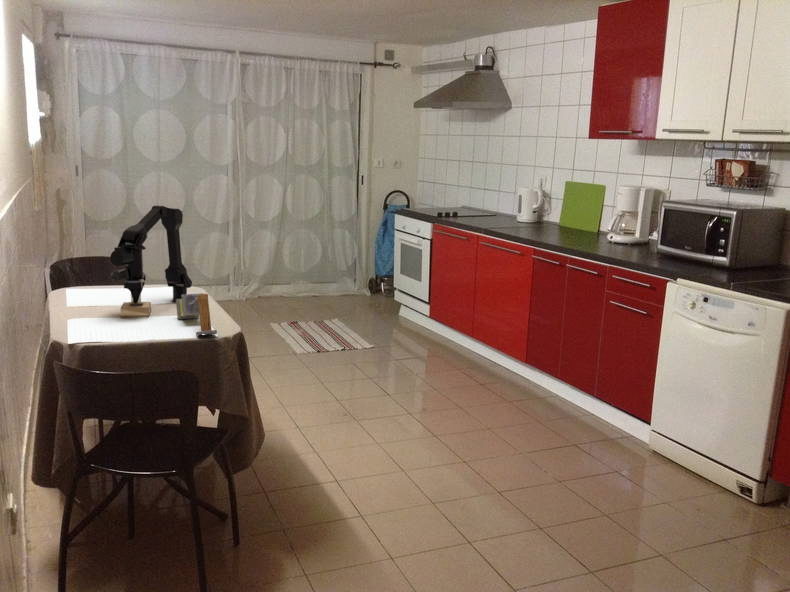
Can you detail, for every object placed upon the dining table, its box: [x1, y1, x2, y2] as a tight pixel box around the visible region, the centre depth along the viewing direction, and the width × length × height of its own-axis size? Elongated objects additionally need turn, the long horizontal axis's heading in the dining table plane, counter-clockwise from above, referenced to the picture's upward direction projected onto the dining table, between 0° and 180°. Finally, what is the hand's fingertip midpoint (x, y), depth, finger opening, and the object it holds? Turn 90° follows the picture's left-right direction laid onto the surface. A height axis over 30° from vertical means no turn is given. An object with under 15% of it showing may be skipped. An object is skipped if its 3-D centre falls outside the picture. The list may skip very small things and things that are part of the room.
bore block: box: [120, 301, 152, 319], centre depth 268 cm, size 10×10×4 cm
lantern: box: [175, 292, 218, 337], centre depth 253 cm, size 8×17×30 cm
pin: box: [130, 293, 142, 306], centre depth 267 cm, size 4×4×8 cm
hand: (136, 302), depth 268 cm, fingers closed on pin, 4 cm apart
